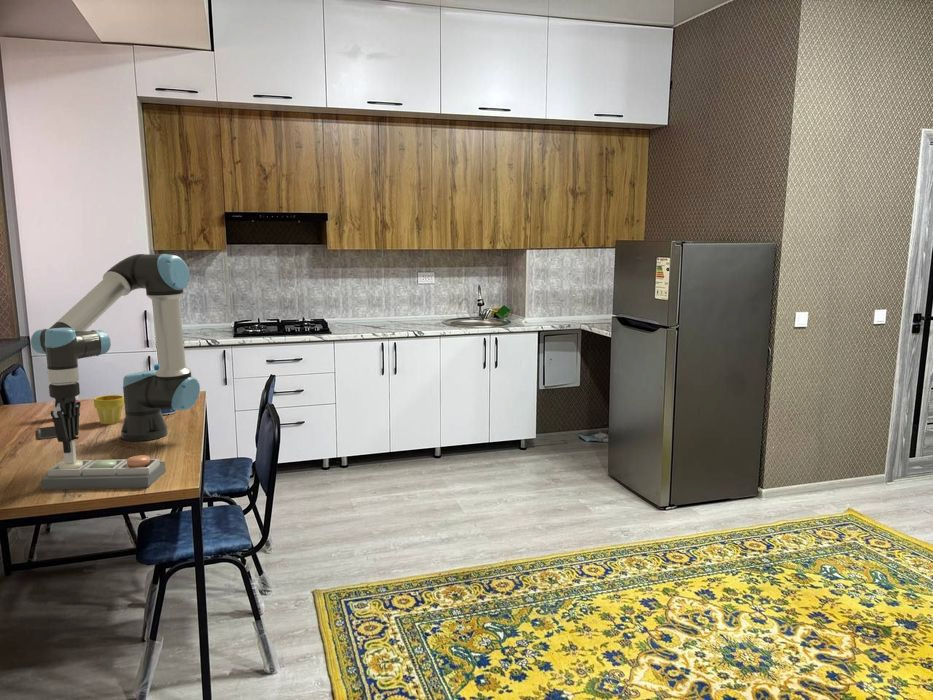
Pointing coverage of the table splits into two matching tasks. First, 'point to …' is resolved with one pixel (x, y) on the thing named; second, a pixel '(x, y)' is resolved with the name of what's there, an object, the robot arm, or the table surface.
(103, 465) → the sage button
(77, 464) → the cream button
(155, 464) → the button panel
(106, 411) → the plant pot
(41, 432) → the phone
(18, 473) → the table surface
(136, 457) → the terracotta button
